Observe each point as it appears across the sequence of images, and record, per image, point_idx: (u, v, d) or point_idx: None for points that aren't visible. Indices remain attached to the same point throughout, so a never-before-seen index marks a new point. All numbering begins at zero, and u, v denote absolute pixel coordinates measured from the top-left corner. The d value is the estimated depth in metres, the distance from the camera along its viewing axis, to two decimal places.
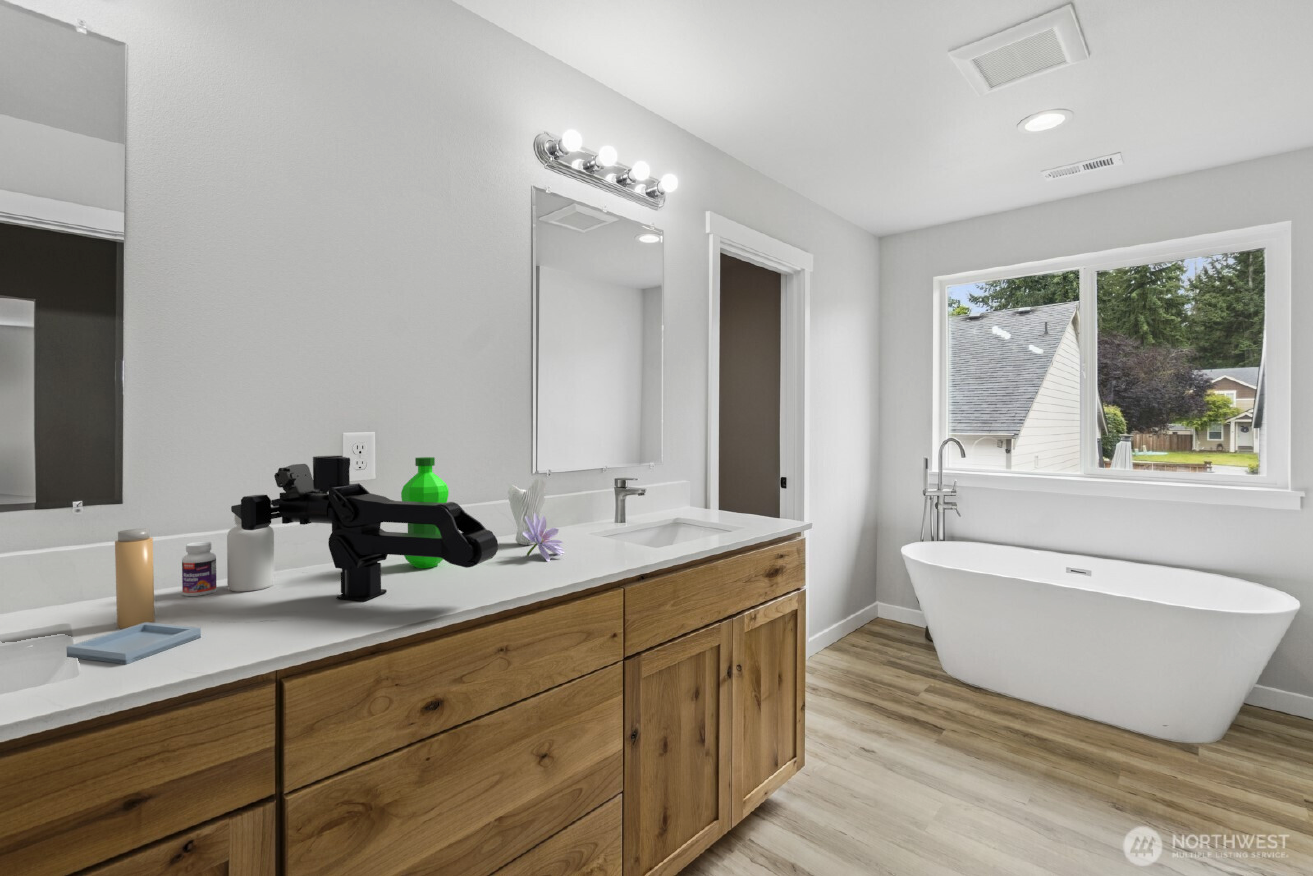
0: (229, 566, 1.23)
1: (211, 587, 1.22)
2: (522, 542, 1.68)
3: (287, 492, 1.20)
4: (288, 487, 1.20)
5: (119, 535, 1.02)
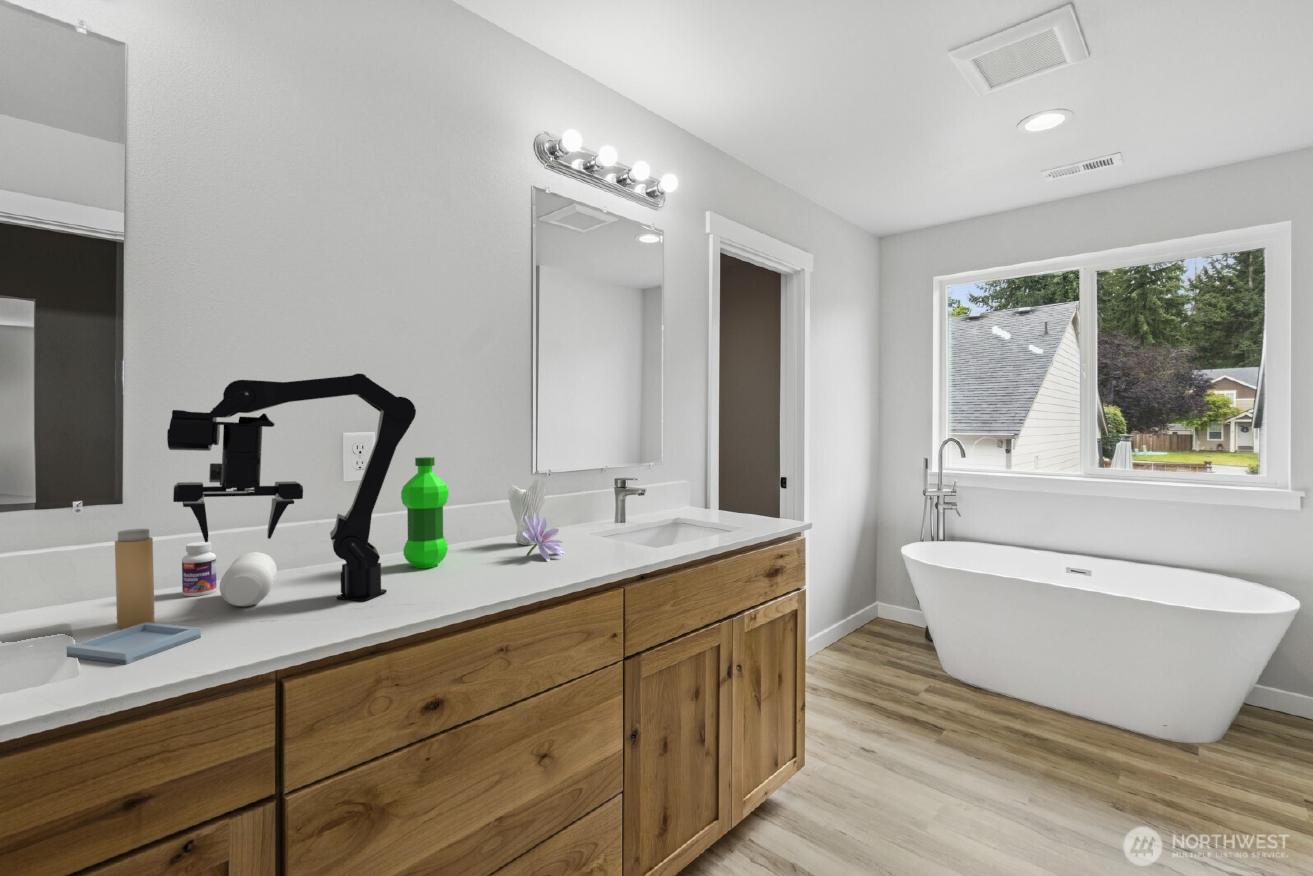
0: None
1: (211, 587, 1.22)
2: (522, 542, 1.68)
3: None
4: (217, 470, 1.12)
5: (119, 535, 1.02)
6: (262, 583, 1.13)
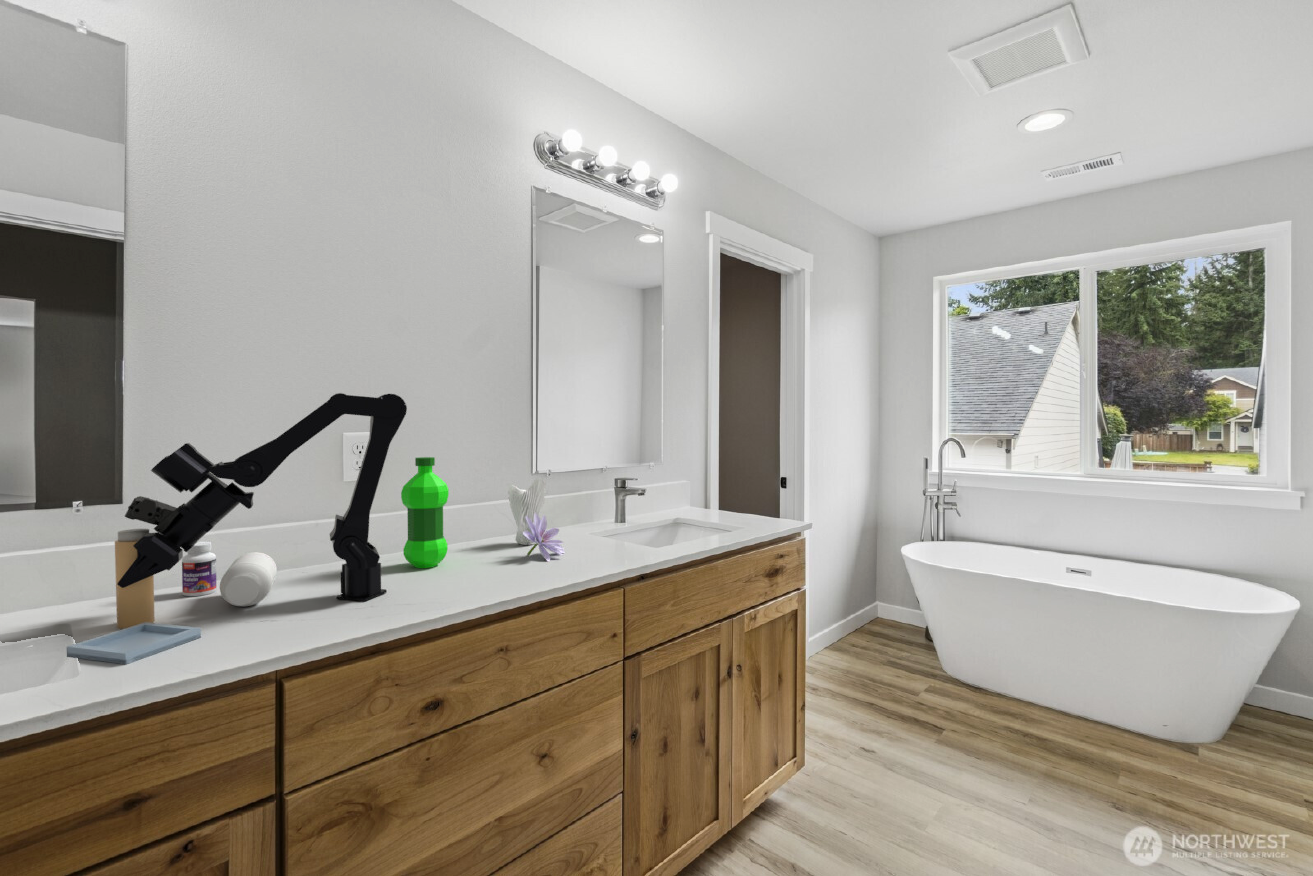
0: None
1: (211, 587, 1.22)
2: (522, 542, 1.68)
3: (162, 519, 1.03)
4: (159, 513, 1.02)
5: (119, 535, 1.02)
6: (262, 583, 1.13)
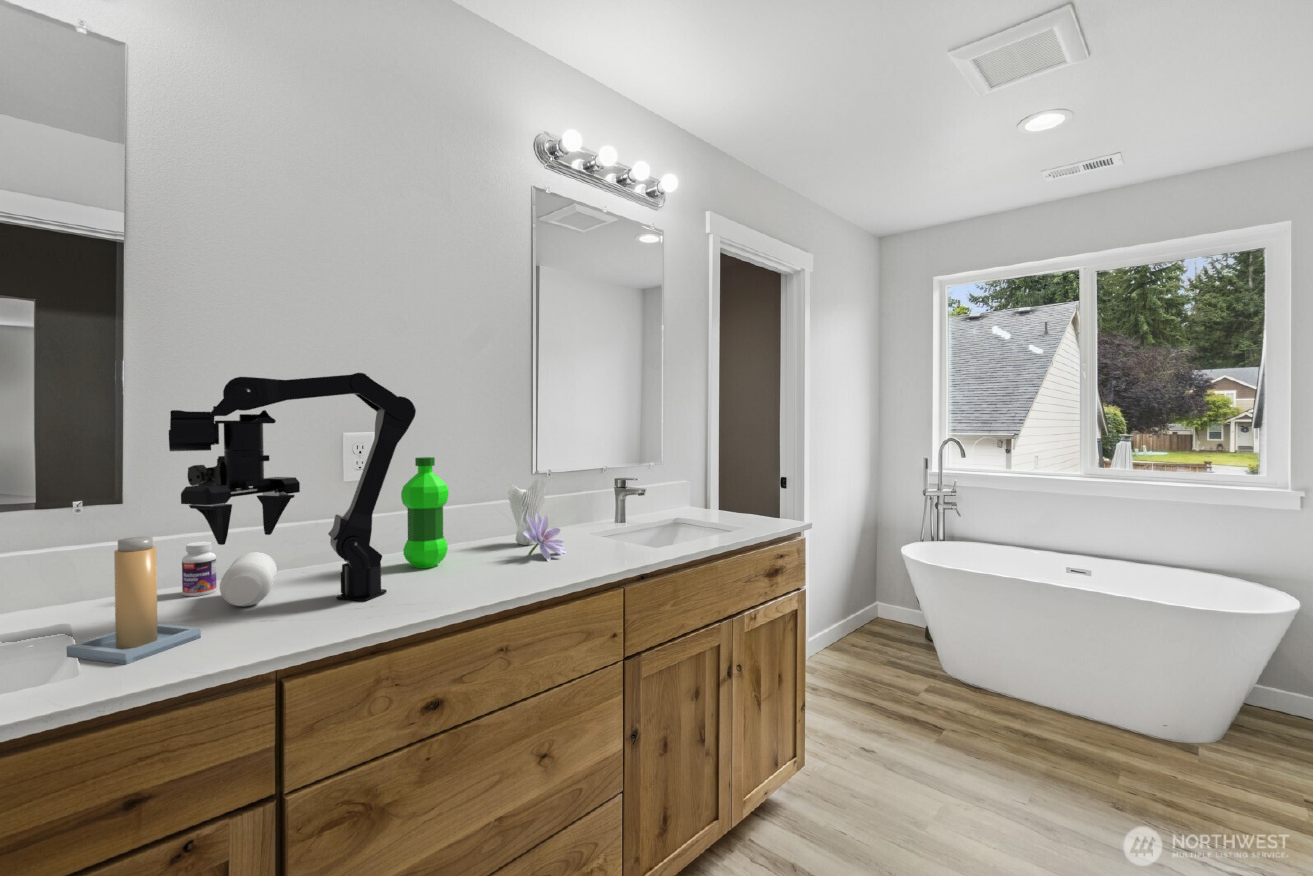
0: None
1: (211, 587, 1.22)
2: (522, 542, 1.68)
3: (214, 475, 1.07)
4: (207, 471, 1.07)
5: (124, 544, 0.91)
6: (262, 583, 1.13)
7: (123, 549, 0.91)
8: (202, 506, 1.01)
